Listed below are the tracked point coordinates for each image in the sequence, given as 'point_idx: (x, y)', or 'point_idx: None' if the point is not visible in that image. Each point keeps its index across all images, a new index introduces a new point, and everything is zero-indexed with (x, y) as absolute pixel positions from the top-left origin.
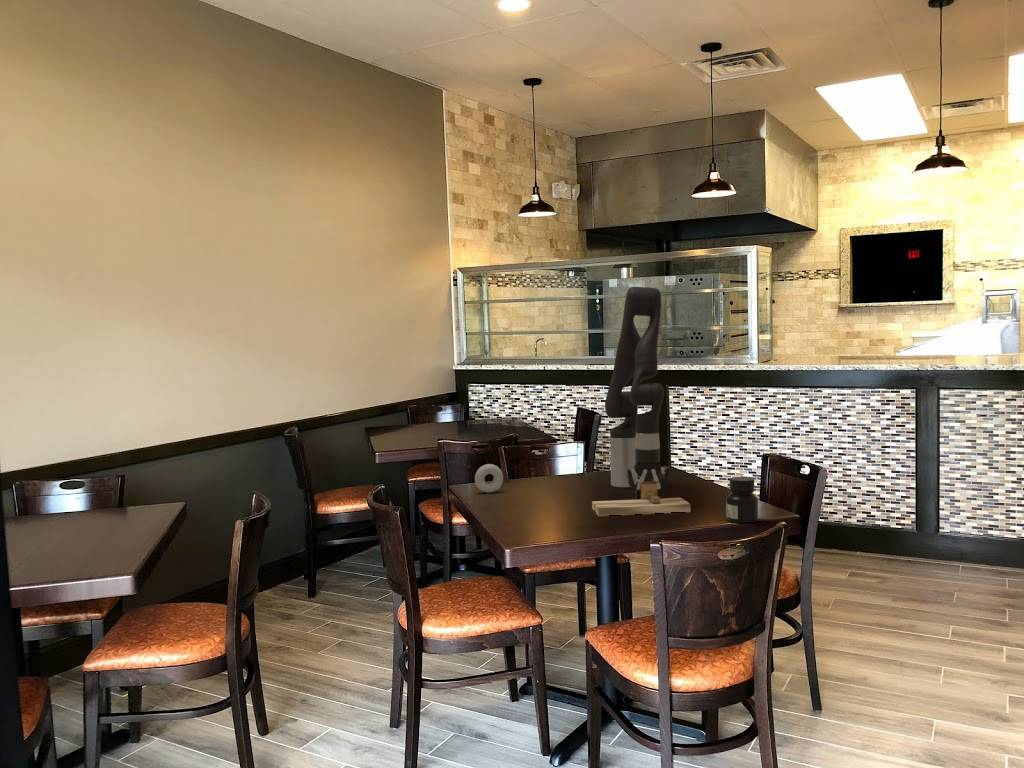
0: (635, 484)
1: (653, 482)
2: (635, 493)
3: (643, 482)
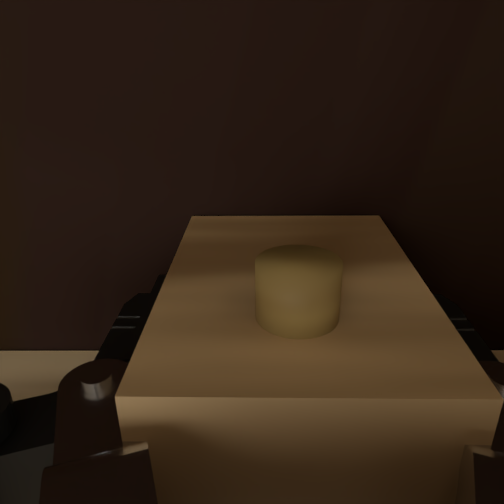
0: (56, 415)
1: (450, 468)
2: (107, 344)
3: (229, 434)
